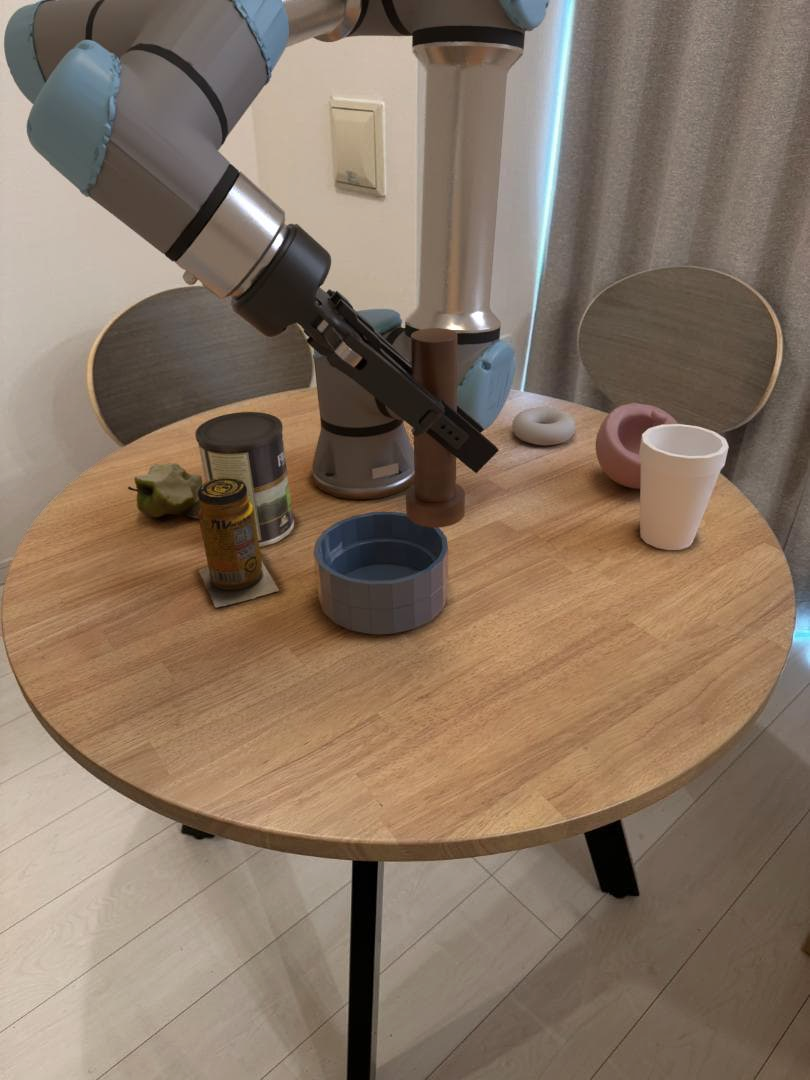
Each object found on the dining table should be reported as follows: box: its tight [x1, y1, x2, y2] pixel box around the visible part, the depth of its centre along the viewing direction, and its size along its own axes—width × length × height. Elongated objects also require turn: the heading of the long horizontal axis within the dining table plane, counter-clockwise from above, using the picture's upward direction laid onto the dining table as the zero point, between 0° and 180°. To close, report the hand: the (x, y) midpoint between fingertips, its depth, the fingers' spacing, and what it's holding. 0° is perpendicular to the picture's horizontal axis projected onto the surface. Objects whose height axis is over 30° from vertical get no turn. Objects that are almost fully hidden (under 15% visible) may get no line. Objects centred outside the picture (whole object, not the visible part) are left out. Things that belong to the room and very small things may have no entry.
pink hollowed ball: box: [595, 402, 679, 490], centre depth 100 cm, size 12×12×12 cm
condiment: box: [198, 477, 280, 608], centre depth 83 cm, size 7×8×12 cm
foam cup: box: [639, 423, 730, 551], centre depth 88 cm, size 10×9×13 cm
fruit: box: [127, 463, 203, 520], centre depth 99 cm, size 9×9×8 cm
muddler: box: [405, 328, 466, 528], centre depth 61 cm, size 5×5×16 cm
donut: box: [511, 406, 577, 446], centre depth 117 cm, size 10×3×10 cm
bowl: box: [313, 511, 449, 635], centre depth 80 cm, size 14×14×7 cm
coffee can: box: [194, 411, 295, 548], centre depth 92 cm, size 10×10×14 cm
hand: (478, 448), depth 63 cm, fingers closed on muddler, 4 cm apart
